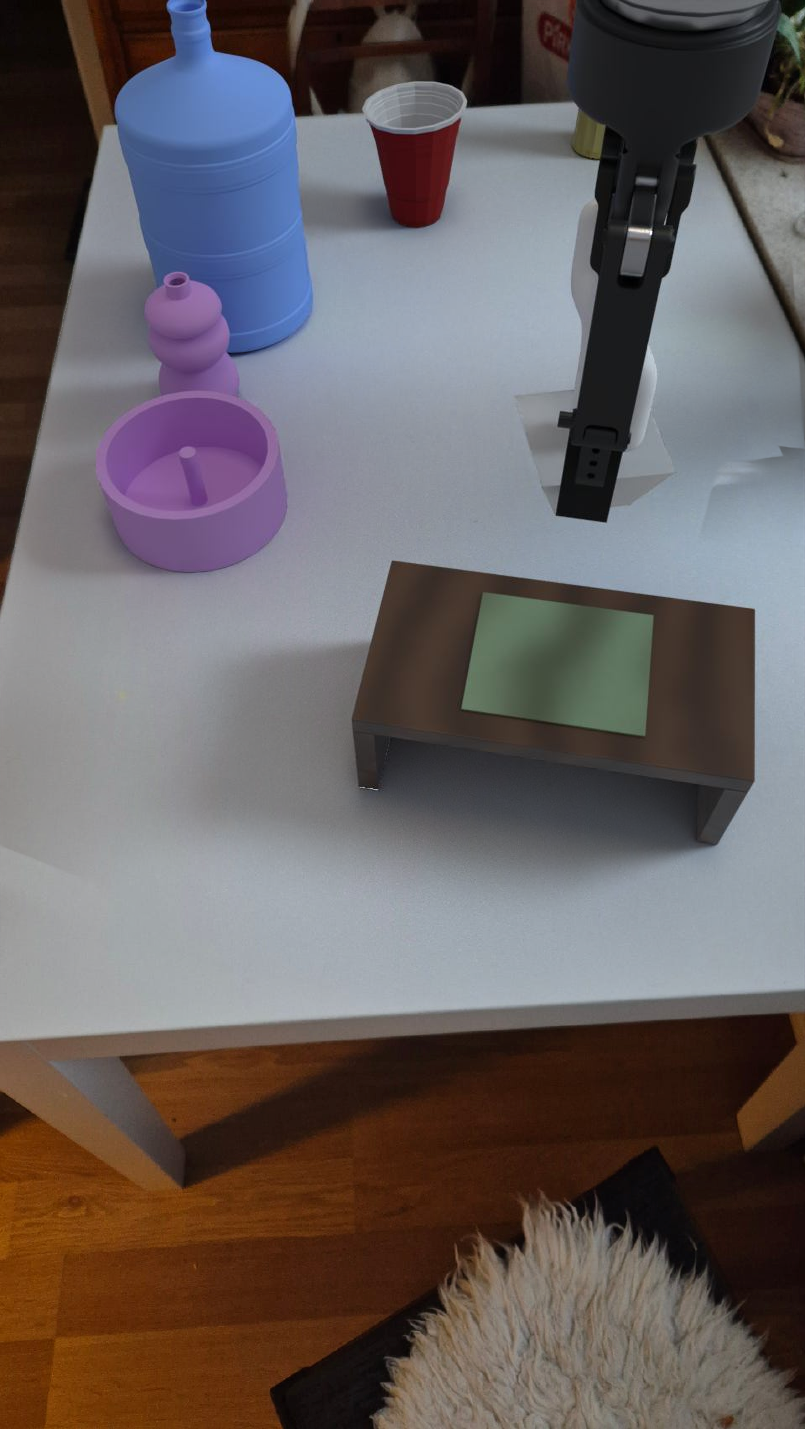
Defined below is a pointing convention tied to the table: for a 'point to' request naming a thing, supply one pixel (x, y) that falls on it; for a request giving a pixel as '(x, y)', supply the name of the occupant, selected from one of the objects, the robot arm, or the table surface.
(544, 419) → the figurine
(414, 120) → the plastic cup
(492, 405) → the table surface
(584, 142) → the vase
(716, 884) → the table surface
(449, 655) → the shelf
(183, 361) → the container set
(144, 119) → the water jug
